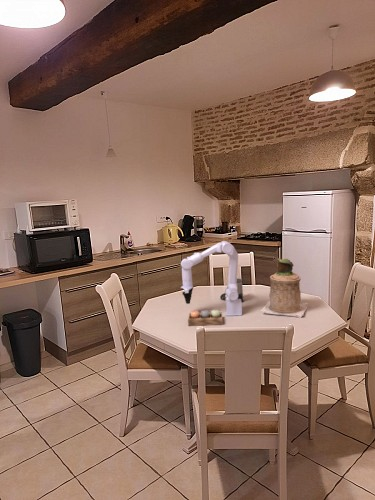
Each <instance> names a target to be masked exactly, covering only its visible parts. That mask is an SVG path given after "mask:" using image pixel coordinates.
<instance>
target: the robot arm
mask: <svg viewBox="0 0 375 500" xmlns="http://www.w3.org/2000/svg"><path fill="white" fill-rule="evenodd" d="M214 253H224V254H226V255H227V257H229V261H228V277H227V284H226V288H225V290H224V293H225V294H226V295H225V298H226V300H225V308H226V309H225V316H232V317H233V316H243V305H242V304H243V302H241V299H238V292H237V285H236V283H237V278H238V267H239V254H238V252H237V250H236V248H235V246H234V245H232V244H231V243H230V242H229V241H227V240H222V241H220V242H218V243H215V244H214V245H211V246H210V247H209V248H207V249H205V250H204V251H202V252H194V253H193V254H192V255H190V256H186V258H183V259H182V260H181V262H180V266H181V278H182V279H181V280H182V286H180V289H183V290H184V291H182V296H183V297H184V300H185V303H186V305H188V304H189V305H190V304H191V300H192V294H193V290H194V285H193V272H192V267H193V266H195V265H197V264H199V263H201V262H203V260H204V258H206V257H208V256H211V255H213V254H214Z"/></svg>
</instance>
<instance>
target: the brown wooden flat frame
mask: <svg viewBox="0 0 375 500" xmlns="http://www.w3.org/2000/svg"><path fill="white" fill-rule="evenodd" d="M187 324H188V327H201V326H202V327H203V326H206V327H207V326H223V324H224V323H223V312H222V311H220V317H214V318H212V311H209V318H201V312H199V318H191V312H189V314H188V320H187Z"/></svg>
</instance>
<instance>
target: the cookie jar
mask: <svg viewBox="0 0 375 500" xmlns="http://www.w3.org/2000/svg"><path fill="white" fill-rule="evenodd" d="M277 261H278V262H277V266H276V269H277V271H276V272H275V273H274V274H271V275H270V276H269V280H270V284H269V286H270V288H269V289H270V290H269V296H268V297H269V299H268V301H267V302H266V304H265V305H264V307H263V308H262V309H260V312H261V313H262V315H264V314H268V315H275V316H276V315H278V316H288V317H293V318H302V317H304V316H305V312H306V311H307V308H308V303H307V302H306V301H305V302H304V301H302V300H301V298H302V297H301V295H302V294H301V293H302V292H301V289H300V282H301V279H302V278H301V276H299V275H298V274H297V273H295V272H293V267H294V264H293V262H292V261H291V260H290V259H288V258H284V259H283V258H282V259H281V258H277Z"/></svg>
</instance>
